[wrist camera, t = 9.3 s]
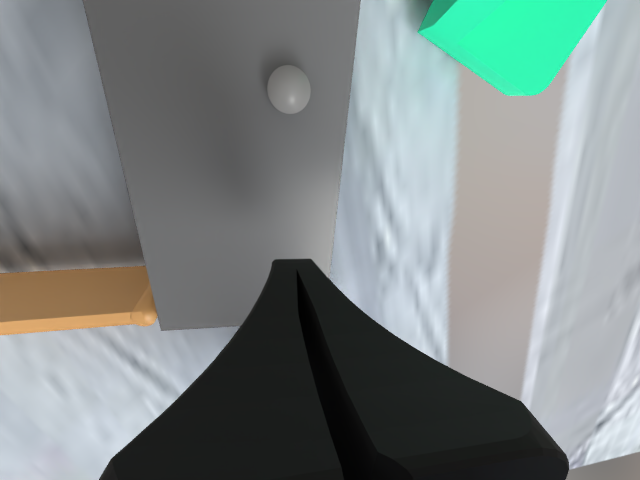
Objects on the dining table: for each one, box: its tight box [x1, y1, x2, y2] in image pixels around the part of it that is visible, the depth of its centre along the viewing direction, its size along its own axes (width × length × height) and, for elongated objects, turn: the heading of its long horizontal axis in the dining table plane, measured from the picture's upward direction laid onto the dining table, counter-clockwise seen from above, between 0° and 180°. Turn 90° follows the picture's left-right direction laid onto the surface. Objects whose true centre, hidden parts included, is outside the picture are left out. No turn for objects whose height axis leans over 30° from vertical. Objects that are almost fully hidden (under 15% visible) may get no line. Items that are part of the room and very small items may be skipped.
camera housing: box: [83, 0, 361, 331], centre depth 14 cm, size 17×9×6 cm, turn 175°
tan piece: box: [0, 266, 158, 335], centre depth 16 cm, size 13×2×4 cm, turn 88°
